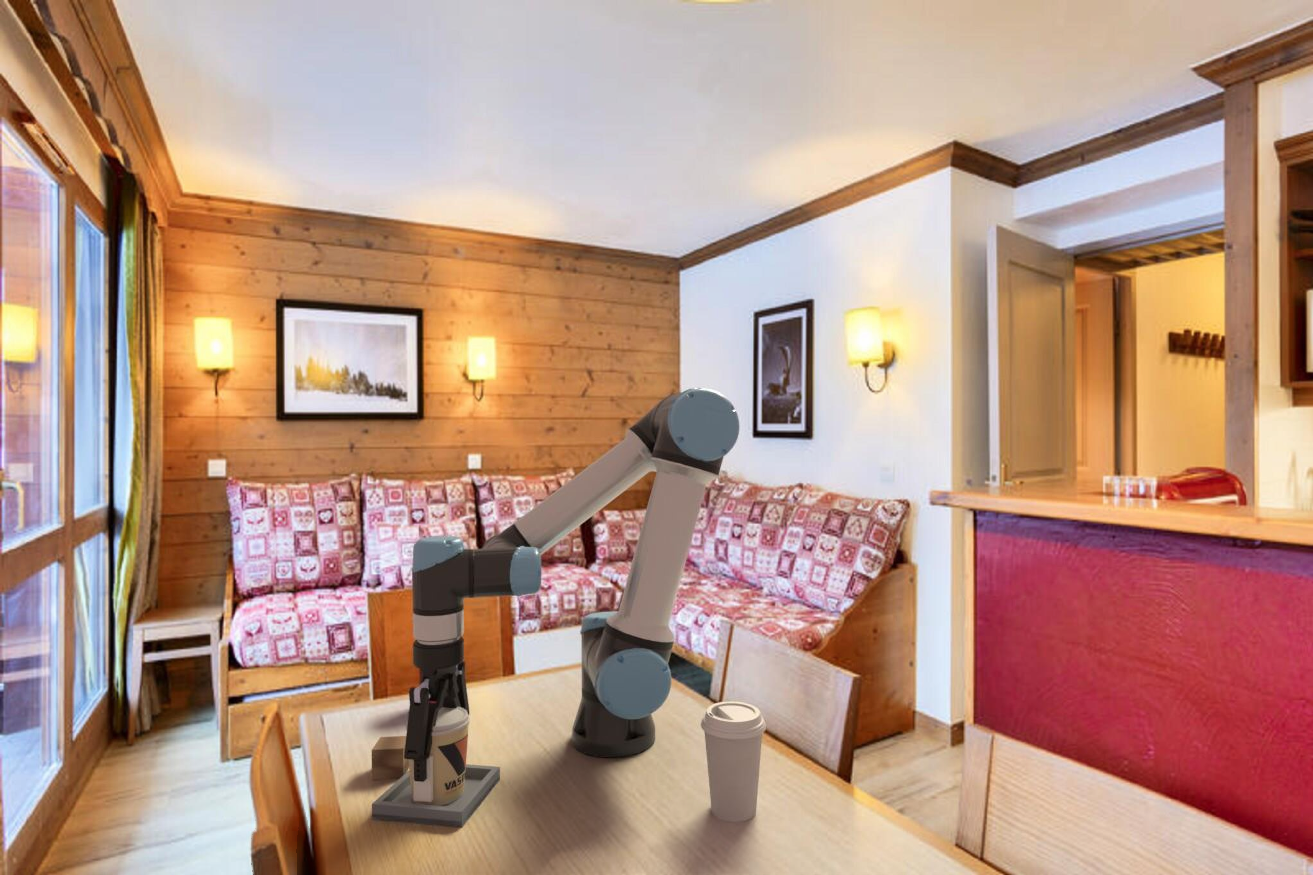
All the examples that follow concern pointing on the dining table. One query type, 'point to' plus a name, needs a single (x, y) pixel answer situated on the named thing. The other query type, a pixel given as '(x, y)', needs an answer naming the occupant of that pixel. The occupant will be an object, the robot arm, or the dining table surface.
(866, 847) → the dining table surface
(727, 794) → the coffee cup
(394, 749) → the walnut cube
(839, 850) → the dining table surface
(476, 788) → the tray
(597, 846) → the dining table surface
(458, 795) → the coffee cup
